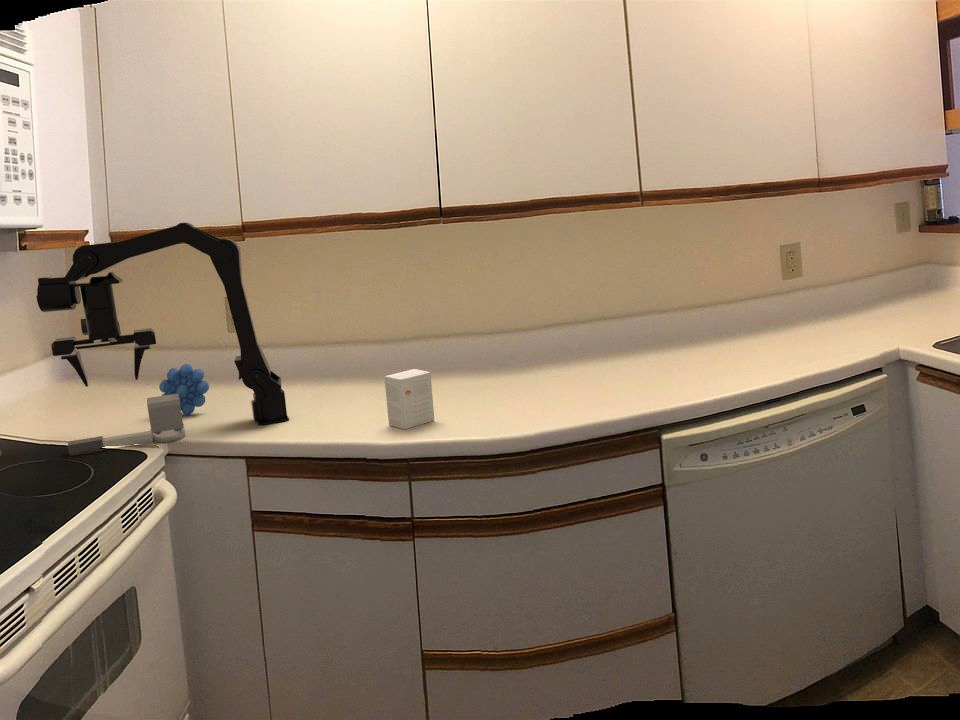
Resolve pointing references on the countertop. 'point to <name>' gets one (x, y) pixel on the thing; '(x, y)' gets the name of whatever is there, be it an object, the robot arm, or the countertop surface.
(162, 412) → the grey rounded cube
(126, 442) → the ratchet
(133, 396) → the countertop surface
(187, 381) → the grapes
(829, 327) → the countertop surface
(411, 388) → the small box
